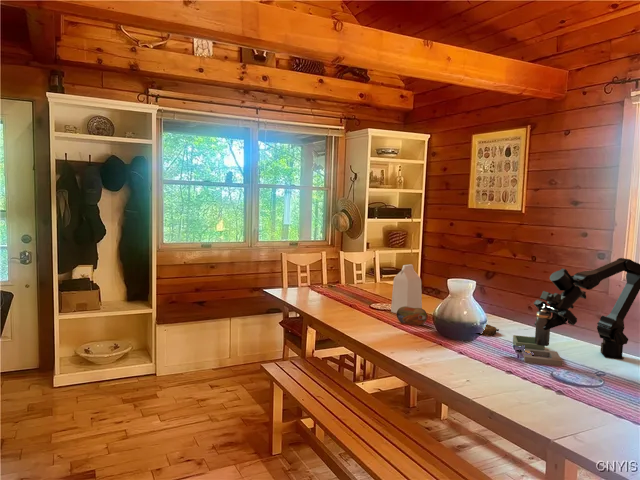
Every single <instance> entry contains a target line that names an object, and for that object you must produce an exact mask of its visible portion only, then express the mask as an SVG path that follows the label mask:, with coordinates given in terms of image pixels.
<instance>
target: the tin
mask: <svg viewBox="0 0 640 480" xmlns="http://www.w3.org/2000/svg"><path fill="white" fill-rule="evenodd" d="M396 318H397V320H398V322H400V323H402V324H406V325H413V326H423V325H424V324H425V323H426V322H427V321H428V313H427V312H426V310H425V309H423V307H422V308H415V307H407V306H404V307H401V308H399V309H398V311H397V313H396Z"/></svg>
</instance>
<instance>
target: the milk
mask: <svg viewBox="0 0 640 480" xmlns="http://www.w3.org/2000/svg"><path fill="white" fill-rule="evenodd" d="M392 282H393V283H392V293H391V307H390V308H391V309H390V313H394V314H397V311H398V309H399V308H401V307H404V306H407V307H415V308H422V309H423V302H422V300H423V297H422V294H423V293H422V279H421V277H420V275H419V274H418V273H417V272H416V271H415V269H414V265H413V264H403V265H402V268H401V270H400V271H399V272H398V273H397V274H396V275H395V276H394V278H393V281H392Z"/></svg>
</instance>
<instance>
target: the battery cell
mask: <svg viewBox="0 0 640 480" xmlns="http://www.w3.org/2000/svg"><path fill="white" fill-rule="evenodd" d="M535 314H536V315H535V316H536V318H535V321H536V326H535V331H534V333H535V334H534V337H535V344H537V345H541V346H545V347H549V346H550V335H551V329H548V330H544V329H543V328H544V326H545V325H546V324H547V322H548V321H549V320H550V319H551V318H552V313H551V312H548V311H547V310H541V311H539V310H536V313H535Z"/></svg>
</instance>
